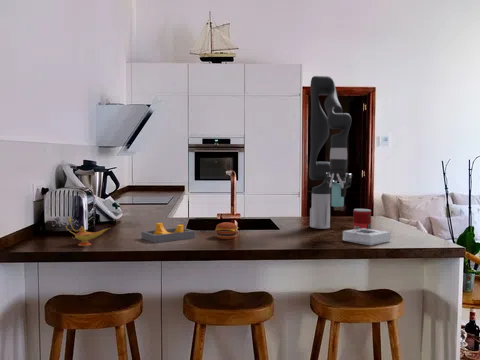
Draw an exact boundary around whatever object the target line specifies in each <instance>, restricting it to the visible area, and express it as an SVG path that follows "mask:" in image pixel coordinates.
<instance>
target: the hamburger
mask: <svg viewBox="0 0 480 360" xmlns="http://www.w3.org/2000/svg"><path fill="white" fill-rule="evenodd" d="M237 229H239V227H238V226H237V225H236V224H235V223H233V222H229V221H225V222H220V223H218V224H216V227H215V230H214V231H216V238H217V239H220V240H221V239H222V240H233V239H237V238H238V234H237V233H238V230H237Z"/></svg>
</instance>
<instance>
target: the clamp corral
mask: <svg viewBox="0 0 480 360" xmlns="http://www.w3.org/2000/svg"><path fill="white" fill-rule="evenodd" d="M176 228H177V227H172V228H171V227H170V228H164V229H165V230H166V231H167V232H169V234H160V235H155V234H154V232H155V231H156V229H155V230H154V229H153V230H144V231H143V230H142V231H141V239H142V240H145V241H147V242H151V243H154V244H157V243H165V242H172V241H174V242H175V241H180V240H189V239H195V236H196V232H195V230H194V229H193V230H192V229H189V228H185V227H184V232H177V233H174V232H175V230H176Z"/></svg>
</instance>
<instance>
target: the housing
mask: <svg viewBox="0 0 480 360" xmlns="http://www.w3.org/2000/svg"><path fill="white" fill-rule="evenodd" d="M342 241H344V242H349V243H355V244H361V245H365V246H366V245H367V246H375V245H381V244H384V243H389V242H391V232H390V231H384V230H378V229H373V228H372V229H366V228H359V229H353V228H352V229H346V230H342Z"/></svg>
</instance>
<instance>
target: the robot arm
mask: <svg viewBox="0 0 480 360" xmlns="http://www.w3.org/2000/svg"><path fill="white" fill-rule="evenodd" d="M309 89H310V106H311V108H310V109H311V111H310V153H309V154H310V155H309V163H308V164H309V168H308V175H309V179H310V180H311V181H323V182H322V183H321V184H319V185H317V186H314V187H312V189H311V207H310V208H309V227H310V228H313V229H321V230H322V229H326V230H327V229H330V228H331V223H330V222H331V197H332V184H341V187H342V188H341V197H344V198H346V195H347V189H348V188H350V187H351V186H352V178H353V174H352V173H348V172H347V168H348V145H347V144H348V136H349V131H350V128H351V126H352V116H351V115H350V113H347V112H343V108H342V105H341V103H340V101H339V97H338V92H337V89H336V84H335V81H334V78H333V77H332V76H327V75H326V76H325V75H320V76H319V75H314V76H312V78H311V80H310V88H309ZM319 96H326V98H325V99H324V104H323V105H324V109H325V111H324V110H323V107H322V106H321V102H320V99H319V98H320V97H319ZM325 112H326V113H325ZM326 114H327V115H326ZM330 129H332V130H340V132H339V133H336V134H332V135H331V137H330V151H329V161H317V159H318V156H319V153H320V151H321V150H322V147H323V146H324V145H325V143H326V142H327V140H328V138H329V136H330ZM338 182H339V183H338Z"/></svg>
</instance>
